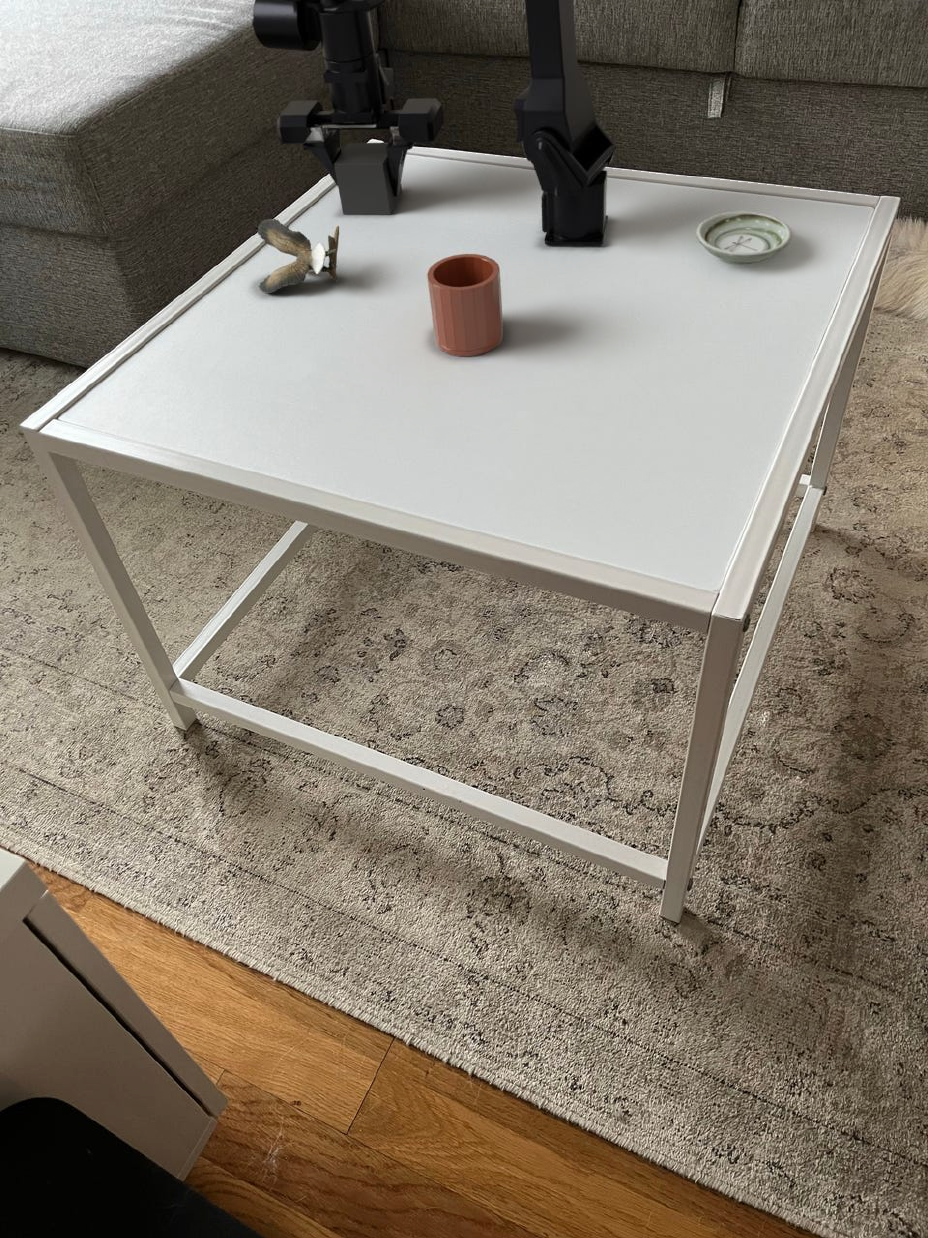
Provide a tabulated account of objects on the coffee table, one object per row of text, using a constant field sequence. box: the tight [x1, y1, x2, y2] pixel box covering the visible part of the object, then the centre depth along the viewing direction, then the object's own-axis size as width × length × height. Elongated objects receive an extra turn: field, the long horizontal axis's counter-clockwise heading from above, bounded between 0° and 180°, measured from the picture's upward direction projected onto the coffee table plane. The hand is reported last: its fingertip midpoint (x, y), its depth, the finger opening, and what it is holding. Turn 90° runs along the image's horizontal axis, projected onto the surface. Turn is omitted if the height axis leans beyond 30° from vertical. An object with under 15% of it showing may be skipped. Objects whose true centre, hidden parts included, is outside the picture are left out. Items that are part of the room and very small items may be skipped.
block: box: [334, 142, 403, 216], centre depth 113 cm, size 6×6×6 cm
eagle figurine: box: [257, 218, 340, 294], centre depth 101 cm, size 8×7×9 cm
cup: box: [426, 253, 504, 357], centre depth 90 cm, size 7×7×7 cm
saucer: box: [695, 210, 793, 265], centre depth 98 cm, size 10×10×2 cm
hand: (371, 194), depth 114 cm, fingers closed on block, 6 cm apart
